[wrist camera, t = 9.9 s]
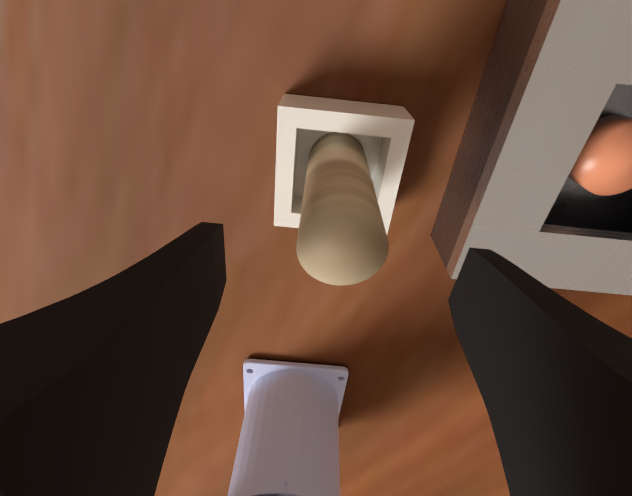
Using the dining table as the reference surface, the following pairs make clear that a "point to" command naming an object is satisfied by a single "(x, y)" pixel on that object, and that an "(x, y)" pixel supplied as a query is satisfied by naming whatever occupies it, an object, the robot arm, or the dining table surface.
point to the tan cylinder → (340, 214)
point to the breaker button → (606, 157)
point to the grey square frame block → (544, 148)
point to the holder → (344, 117)
